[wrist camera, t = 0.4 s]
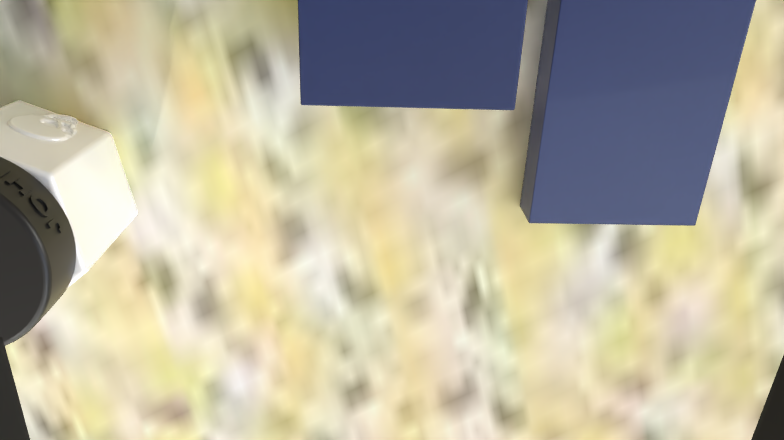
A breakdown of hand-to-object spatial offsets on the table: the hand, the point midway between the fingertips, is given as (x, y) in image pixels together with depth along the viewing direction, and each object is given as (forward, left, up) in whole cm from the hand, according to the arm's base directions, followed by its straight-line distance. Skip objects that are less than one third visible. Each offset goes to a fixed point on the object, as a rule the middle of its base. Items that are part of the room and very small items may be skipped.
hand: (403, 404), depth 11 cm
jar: (+5, -17, -25) cm, 31 cm away
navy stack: (0, +12, -25) cm, 28 cm away
